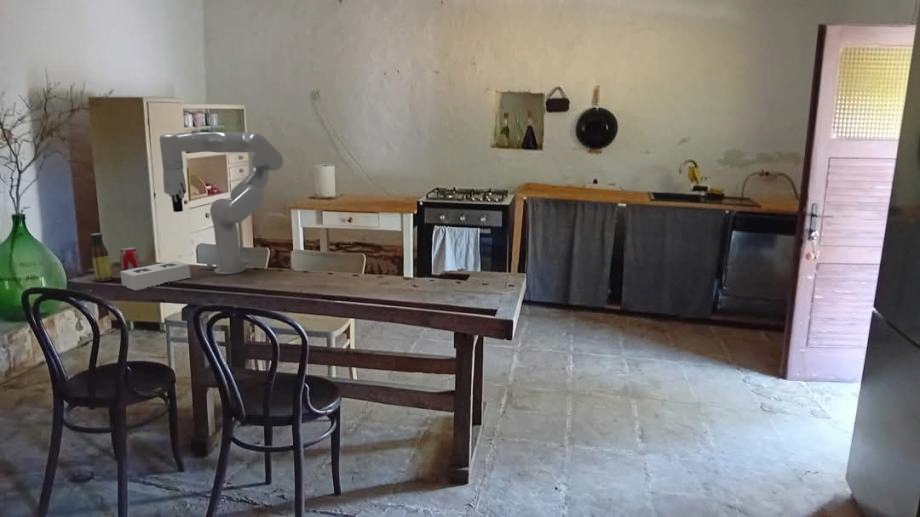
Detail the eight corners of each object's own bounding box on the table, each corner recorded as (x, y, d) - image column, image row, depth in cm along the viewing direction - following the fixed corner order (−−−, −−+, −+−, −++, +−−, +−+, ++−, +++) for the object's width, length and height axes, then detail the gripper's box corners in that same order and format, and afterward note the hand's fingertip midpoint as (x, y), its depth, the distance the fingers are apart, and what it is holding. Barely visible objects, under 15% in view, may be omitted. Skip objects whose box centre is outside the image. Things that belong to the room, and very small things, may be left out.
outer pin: (146, 281, 274) (145, 268, 272) (152, 283, 270) (150, 270, 269) (134, 284, 270) (133, 270, 269) (140, 286, 267) (138, 272, 266)
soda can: (135, 277, 282) (132, 249, 280) (119, 277, 283) (115, 250, 280) (143, 273, 289) (140, 246, 287) (127, 273, 290) (124, 246, 287)
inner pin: (172, 276, 282) (171, 263, 280) (178, 278, 279) (176, 265, 277) (161, 278, 278) (159, 265, 277) (167, 280, 275) (165, 267, 274)
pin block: (176, 274, 287) (175, 260, 285) (190, 278, 279) (189, 264, 278) (122, 285, 270) (120, 271, 268) (135, 290, 262) (133, 275, 261)
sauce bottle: (115, 278, 281) (109, 232, 277) (106, 282, 275) (100, 235, 271) (101, 278, 282) (94, 232, 277) (92, 282, 276) (85, 235, 271)
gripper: (155, 165, 267) (160, 211, 271) (172, 167, 257) (178, 214, 261) (173, 164, 272) (178, 208, 277) (191, 166, 263) (196, 212, 267)
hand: (178, 211), depth 269 cm, fingers closed
